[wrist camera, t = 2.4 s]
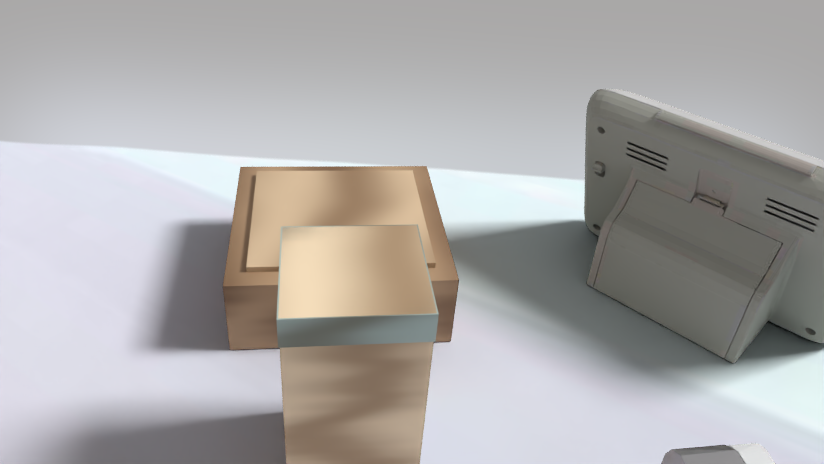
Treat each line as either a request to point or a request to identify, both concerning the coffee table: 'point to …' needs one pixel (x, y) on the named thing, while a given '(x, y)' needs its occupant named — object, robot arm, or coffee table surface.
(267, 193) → the base
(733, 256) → the digital clock
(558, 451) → the coffee table surface
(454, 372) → the coffee table surface
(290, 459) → the pillar
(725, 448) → the robot arm
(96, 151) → the coffee table surface
